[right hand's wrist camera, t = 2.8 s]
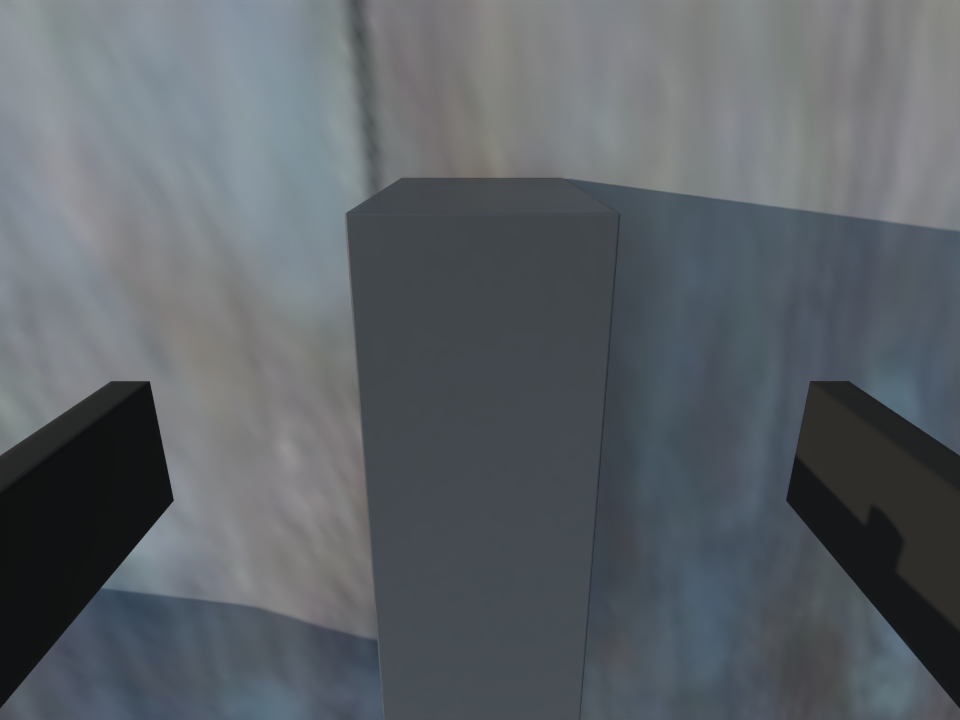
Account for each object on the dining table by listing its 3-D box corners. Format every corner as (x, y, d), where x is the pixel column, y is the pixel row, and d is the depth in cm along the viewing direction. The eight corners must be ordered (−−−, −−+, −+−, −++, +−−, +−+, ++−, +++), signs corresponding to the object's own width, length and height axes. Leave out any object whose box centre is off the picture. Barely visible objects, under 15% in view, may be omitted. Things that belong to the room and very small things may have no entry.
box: (400, 177, 24) (344, 213, 14) (563, 177, 24) (620, 213, 14) (421, 658, 33) (395, 887, 23) (541, 658, 33) (567, 887, 23)
